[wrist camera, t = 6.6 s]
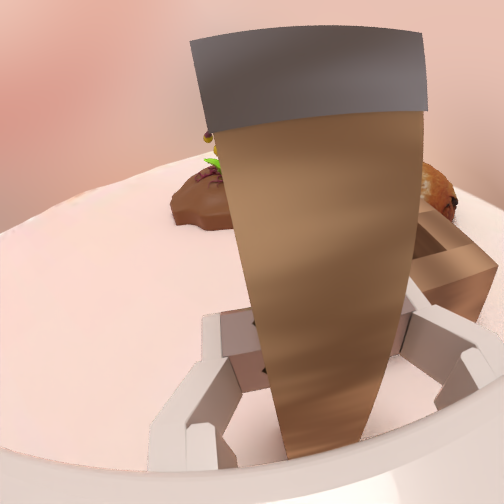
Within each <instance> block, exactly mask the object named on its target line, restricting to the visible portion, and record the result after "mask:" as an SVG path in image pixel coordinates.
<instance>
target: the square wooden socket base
mask: <svg viewBox="0 0 504 504" xmlns="http://www.w3.org/2000/svg"><path fill="white" fill-rule="evenodd" d="M497 268H498V264H497V263H496V262H494V261H493V260H492V259H491V258H490V257H489V256H488V255H487V254H486V253H485V252H484V251H483V250H482V249H481V248H480V247H479V246H478V245H477V244H476V243H474V242H473V241H472V240H471V239H470V238H469V237H468V236H467V235H466V234H464V233H463V232H462V231H461V230H460V229H459V228H457V227H456V226H455V225H454V224H453V223H452V222H450V221H449V220H448V219H447V218H446V217H444V216H443V215H442V214H441V213H440V212H438V211H437V210H436V209H435V208H433V207H432V206H431V205H430V204H428V203H427V202H426V201H424V200H423V199H422V198H421V197H420V205H419V215H418V223H417V231H416V238H415V245H414V251H413V257H412V263H411V269H410V274H409V276H410V278H411V279H412V280H413V282H414V283H415V284H416V285H417V287H418V288H419V289H420V291H421V292H422V293H423V295H424V296H425V297H426V299H427V300H428V301H429V303H430V304H431V305H435V304H436V305H438V306H440V307H442V308H445V309H447V310H449V311H451V312H453V313H455V314H457V315H459V316H461V317H464V318H466V319H468V320H470V321H472V322H474V323H476V321H477V319H478V317H479V314H480V312H481V310H482V307H483V305H484V303H485V300H486V298H487V295H488V293H489V290H490V288H491V285H492V282H493V280H494V277H495V274H496V271H497Z"/></svg>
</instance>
